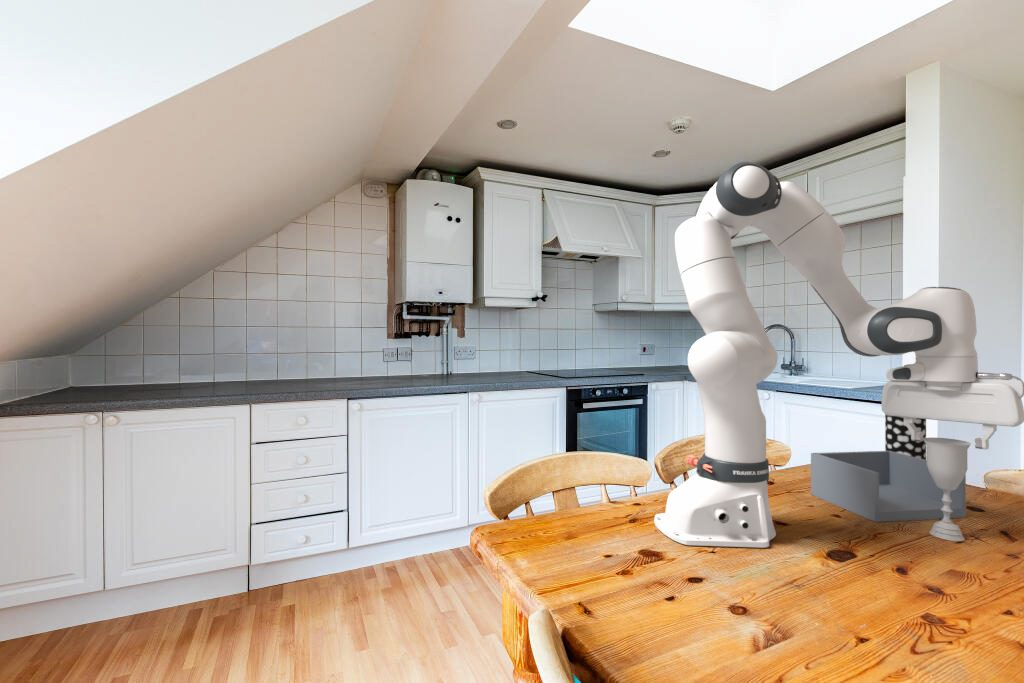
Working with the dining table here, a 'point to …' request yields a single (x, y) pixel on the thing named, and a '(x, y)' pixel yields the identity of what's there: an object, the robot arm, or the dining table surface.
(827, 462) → the open gray box tray
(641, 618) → the dining table surface
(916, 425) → the white-spotted black cylinder
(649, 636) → the dining table surface
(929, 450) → the chalice
